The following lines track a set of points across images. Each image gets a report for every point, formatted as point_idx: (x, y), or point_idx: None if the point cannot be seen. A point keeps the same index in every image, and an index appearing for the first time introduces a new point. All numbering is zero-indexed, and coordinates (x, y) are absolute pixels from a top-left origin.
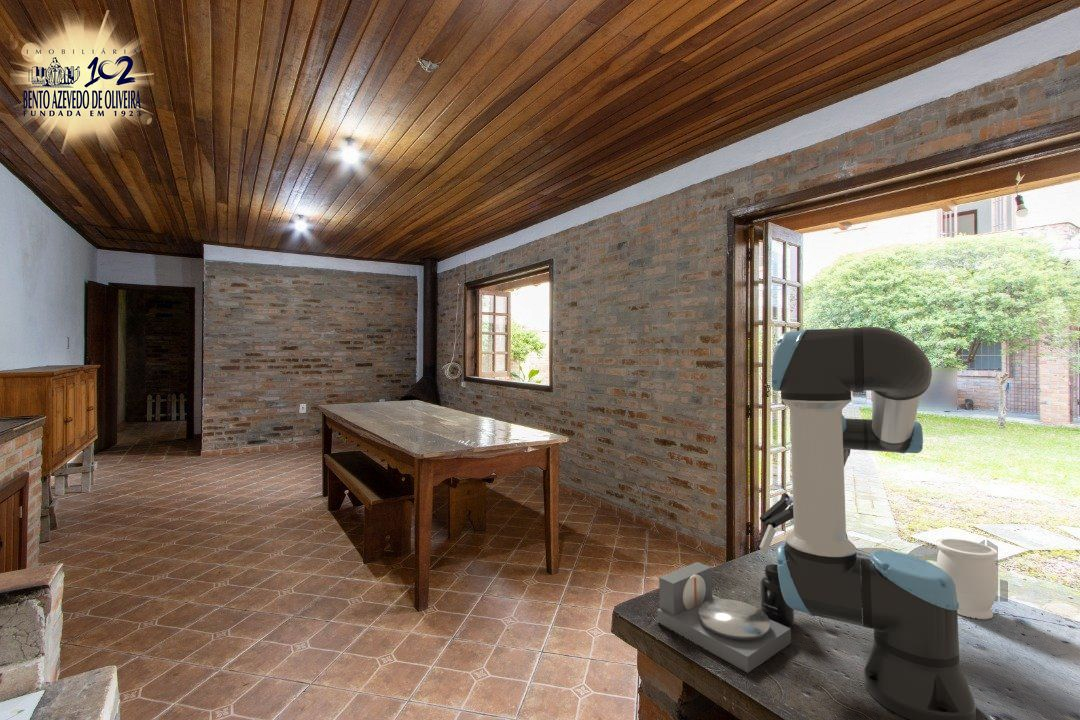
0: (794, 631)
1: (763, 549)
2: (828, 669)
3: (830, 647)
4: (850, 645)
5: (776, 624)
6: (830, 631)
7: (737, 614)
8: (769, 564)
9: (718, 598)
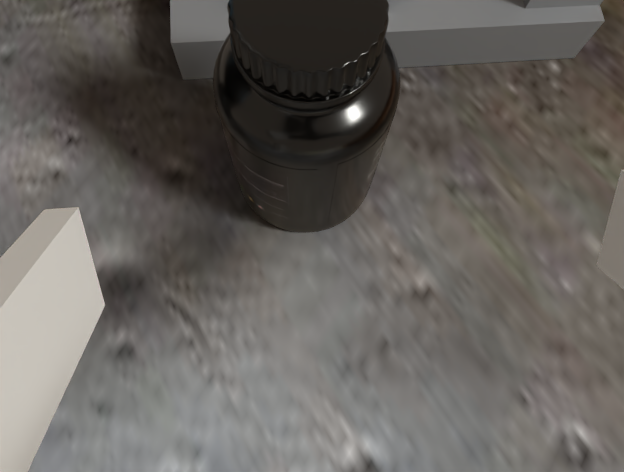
0: (219, 160)
1: (614, 200)
2: (25, 43)
3: (74, 169)
4: None
5: (223, 27)
6: (125, 284)
7: None
8: (383, 19)
9: (500, 16)
